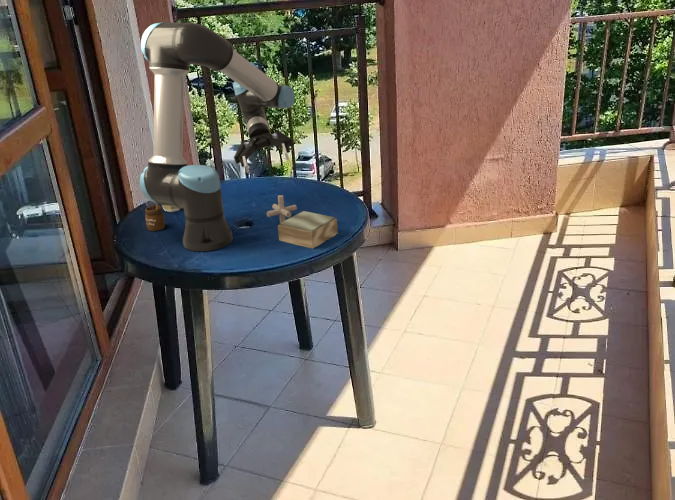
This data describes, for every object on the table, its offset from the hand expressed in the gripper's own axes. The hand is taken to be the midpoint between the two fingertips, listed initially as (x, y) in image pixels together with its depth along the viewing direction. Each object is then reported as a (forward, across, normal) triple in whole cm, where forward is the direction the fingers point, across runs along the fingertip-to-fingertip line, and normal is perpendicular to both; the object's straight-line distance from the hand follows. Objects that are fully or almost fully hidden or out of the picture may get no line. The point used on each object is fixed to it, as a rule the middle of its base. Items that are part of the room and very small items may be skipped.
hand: (267, 163), depth 207 cm
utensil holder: (+1, +42, -10) cm, 43 cm away
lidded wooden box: (+24, -6, -15) cm, 29 cm away
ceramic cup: (-15, +36, -16) cm, 43 cm away
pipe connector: (+12, +1, -17) cm, 21 cm away
